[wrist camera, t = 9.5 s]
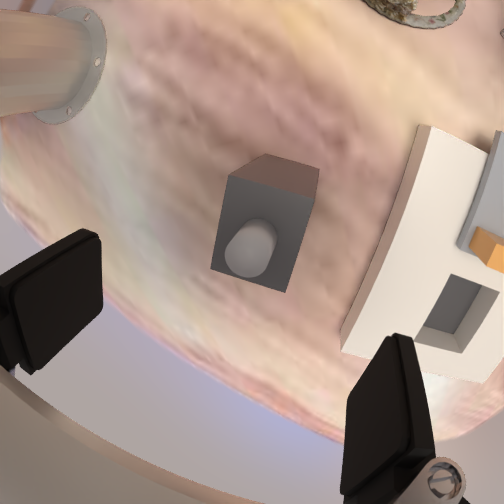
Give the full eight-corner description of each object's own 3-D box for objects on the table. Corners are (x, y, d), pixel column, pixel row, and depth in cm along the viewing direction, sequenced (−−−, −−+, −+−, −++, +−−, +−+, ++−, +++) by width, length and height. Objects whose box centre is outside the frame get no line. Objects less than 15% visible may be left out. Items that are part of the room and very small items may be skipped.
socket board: (340, 329, 26) (340, 351, 24) (418, 124, 18) (431, 125, 16) (475, 363, 25) (483, 383, 22) (559, 204, 17) (577, 214, 14)
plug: (250, 216, 24) (192, 292, 14) (265, 153, 22) (210, 185, 12) (300, 231, 24) (277, 320, 14) (319, 168, 22) (312, 214, 11)
